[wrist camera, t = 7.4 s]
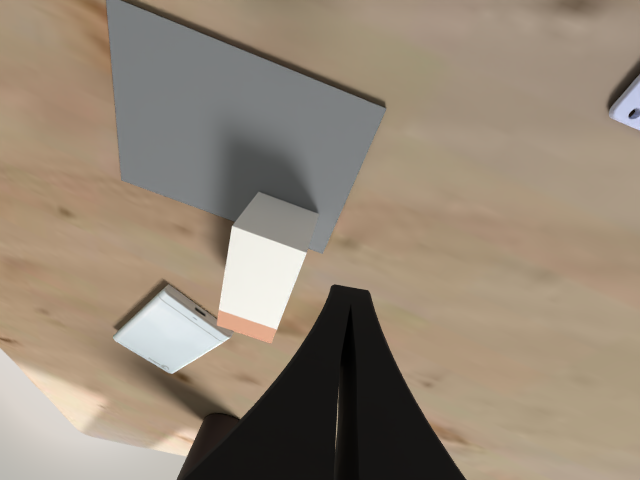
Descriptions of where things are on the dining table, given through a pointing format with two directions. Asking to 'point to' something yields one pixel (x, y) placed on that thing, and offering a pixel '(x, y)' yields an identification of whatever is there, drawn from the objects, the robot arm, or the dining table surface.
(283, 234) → the block
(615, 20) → the dining table surface
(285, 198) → the mat
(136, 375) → the dining table surface
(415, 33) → the dining table surface
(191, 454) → the bottle
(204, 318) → the hard drive
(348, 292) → the robot arm
